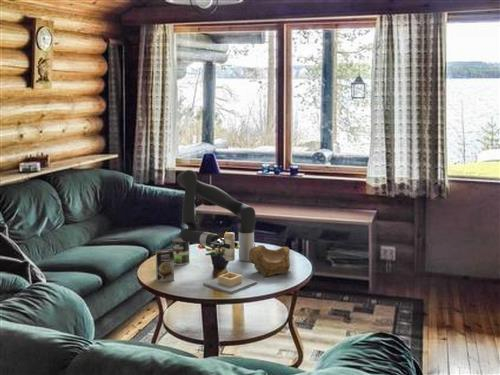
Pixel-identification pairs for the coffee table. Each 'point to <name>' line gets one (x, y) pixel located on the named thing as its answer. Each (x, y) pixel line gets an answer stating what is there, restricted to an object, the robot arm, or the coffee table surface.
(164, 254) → the coffee box
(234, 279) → the collar board
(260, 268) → the rough brown rock
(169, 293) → the coffee table surface
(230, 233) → the wooden peg
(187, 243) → the coffee can
